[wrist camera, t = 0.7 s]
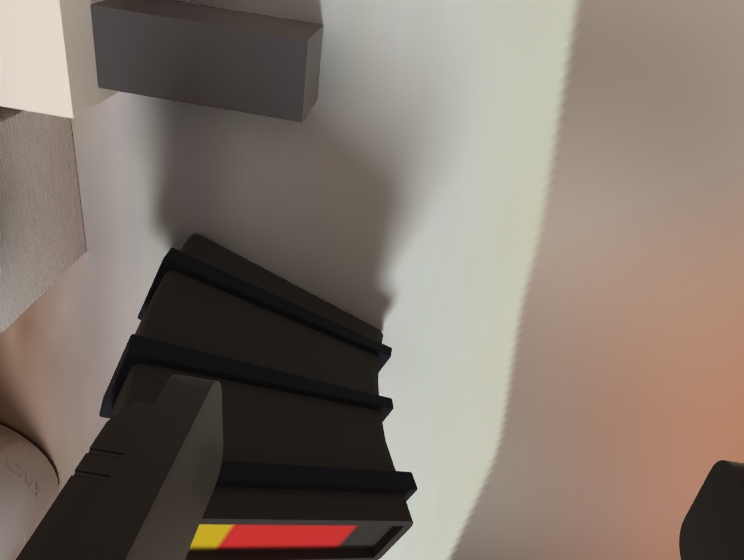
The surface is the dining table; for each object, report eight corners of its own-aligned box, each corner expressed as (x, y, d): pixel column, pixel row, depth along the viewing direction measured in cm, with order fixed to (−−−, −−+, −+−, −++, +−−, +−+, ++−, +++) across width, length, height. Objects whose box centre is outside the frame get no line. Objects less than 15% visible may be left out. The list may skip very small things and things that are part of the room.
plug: (324, 8, 25) (297, 33, 21) (315, 113, 27) (288, 155, 23) (8, -43, 26) (-82, -29, 21) (24, 65, 28) (-54, 96, 24)
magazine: (118, 204, 29) (114, 511, 18) (364, 267, 36) (463, 517, 25) (95, 266, 31) (80, 575, 20) (333, 314, 38) (414, 564, 27)
